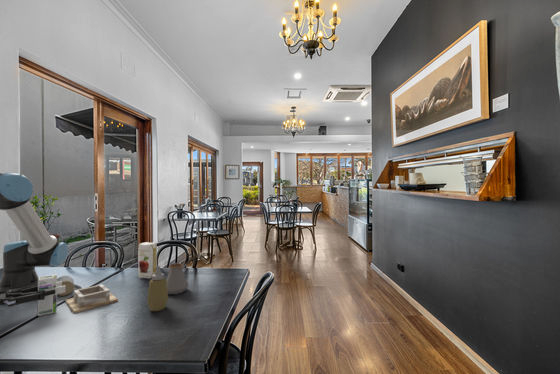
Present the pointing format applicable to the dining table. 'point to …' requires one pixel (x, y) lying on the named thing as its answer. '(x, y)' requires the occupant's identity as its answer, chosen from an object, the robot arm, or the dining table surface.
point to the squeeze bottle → (157, 291)
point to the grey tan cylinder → (68, 285)
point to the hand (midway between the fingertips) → (63, 286)
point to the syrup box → (50, 301)
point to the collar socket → (90, 298)
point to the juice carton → (147, 259)
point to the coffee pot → (177, 278)
